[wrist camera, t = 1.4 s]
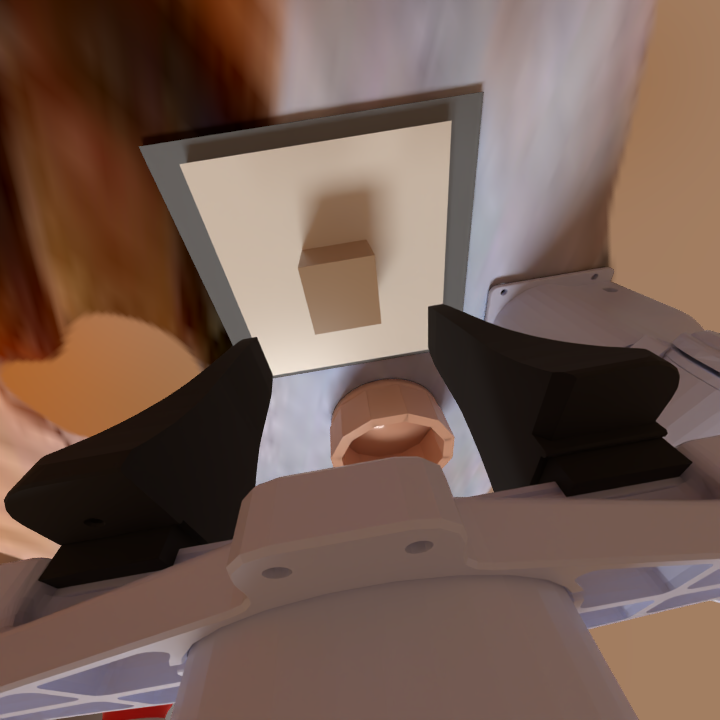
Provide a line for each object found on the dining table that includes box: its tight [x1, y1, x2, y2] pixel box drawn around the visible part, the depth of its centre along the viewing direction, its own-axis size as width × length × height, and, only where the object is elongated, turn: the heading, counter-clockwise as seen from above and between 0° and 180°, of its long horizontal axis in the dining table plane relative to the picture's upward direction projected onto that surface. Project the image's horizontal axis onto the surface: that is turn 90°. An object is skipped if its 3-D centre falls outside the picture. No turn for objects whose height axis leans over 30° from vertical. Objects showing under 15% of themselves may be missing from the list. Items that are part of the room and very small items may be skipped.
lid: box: [179, 121, 452, 376], centre depth 17 cm, size 14×14×4 cm
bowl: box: [330, 379, 454, 468], centre depth 27 cm, size 11×11×4 cm
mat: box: [139, 92, 483, 378], centre depth 19 cm, size 18×16×1 cm
